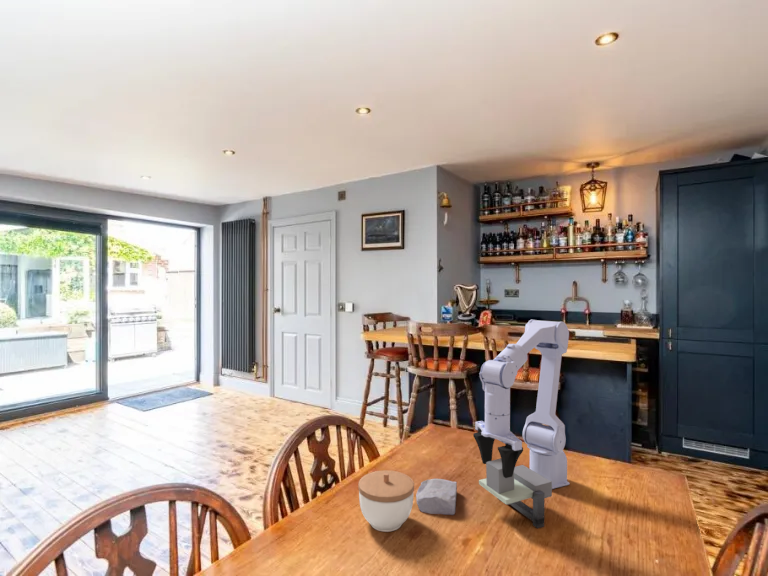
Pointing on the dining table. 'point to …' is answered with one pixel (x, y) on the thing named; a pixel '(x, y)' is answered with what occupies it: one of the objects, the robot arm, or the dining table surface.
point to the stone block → (437, 496)
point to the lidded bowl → (386, 499)
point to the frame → (536, 512)
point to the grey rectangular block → (498, 477)
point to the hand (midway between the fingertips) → (497, 469)
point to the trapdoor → (522, 486)
